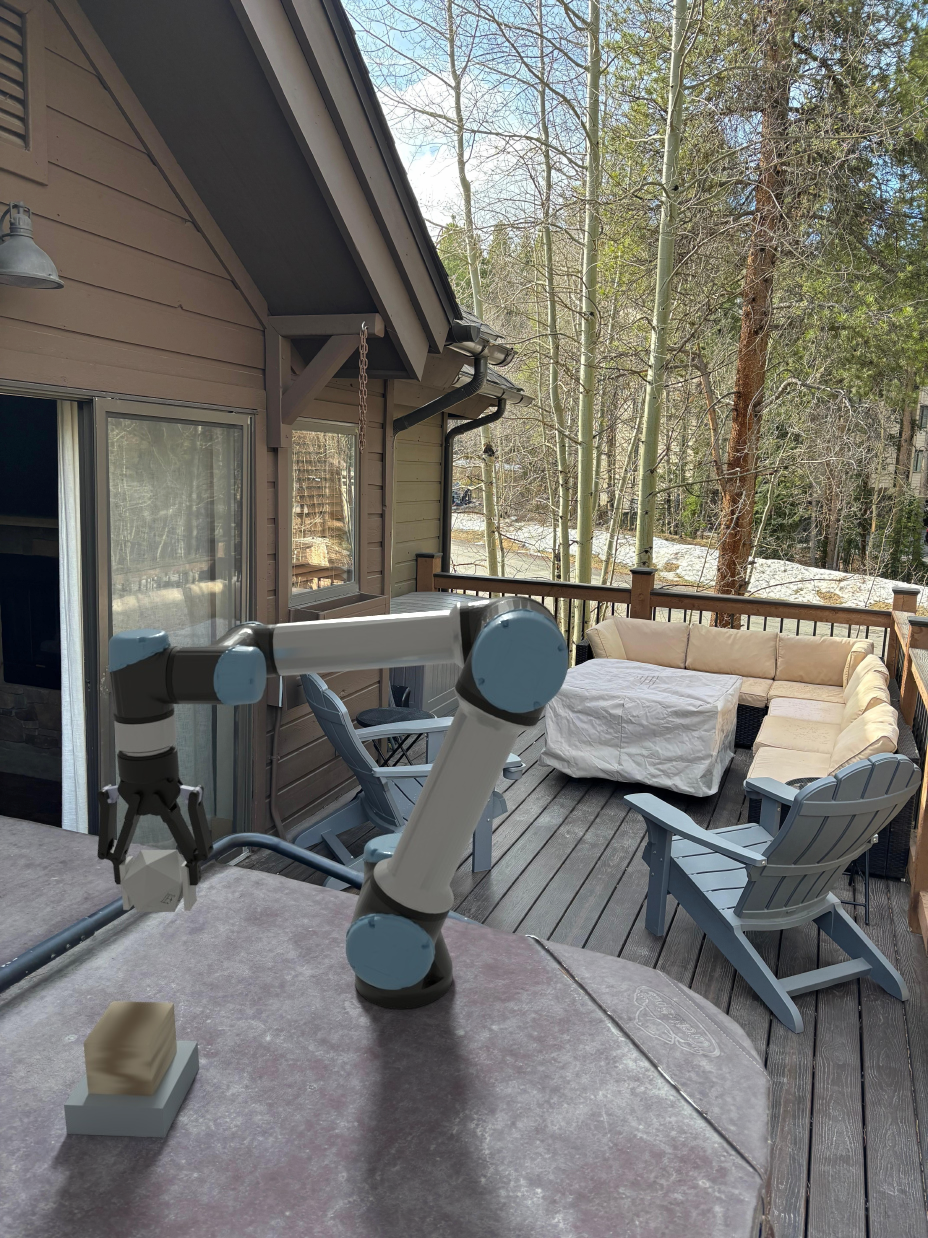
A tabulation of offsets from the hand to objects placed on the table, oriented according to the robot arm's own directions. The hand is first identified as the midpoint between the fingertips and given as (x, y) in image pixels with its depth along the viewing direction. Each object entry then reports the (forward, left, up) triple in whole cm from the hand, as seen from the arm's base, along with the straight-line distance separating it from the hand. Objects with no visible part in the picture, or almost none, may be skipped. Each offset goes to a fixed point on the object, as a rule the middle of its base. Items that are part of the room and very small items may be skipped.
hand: (160, 905), depth 120 cm
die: (0, 0, 0) cm, 1 cm away
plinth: (-1, +13, -19) cm, 23 cm away
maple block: (-1, +13, -15) cm, 20 cm away
